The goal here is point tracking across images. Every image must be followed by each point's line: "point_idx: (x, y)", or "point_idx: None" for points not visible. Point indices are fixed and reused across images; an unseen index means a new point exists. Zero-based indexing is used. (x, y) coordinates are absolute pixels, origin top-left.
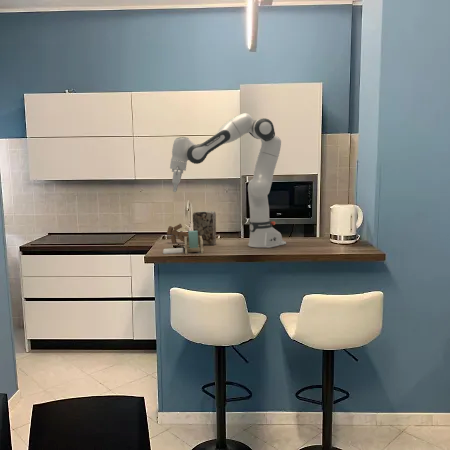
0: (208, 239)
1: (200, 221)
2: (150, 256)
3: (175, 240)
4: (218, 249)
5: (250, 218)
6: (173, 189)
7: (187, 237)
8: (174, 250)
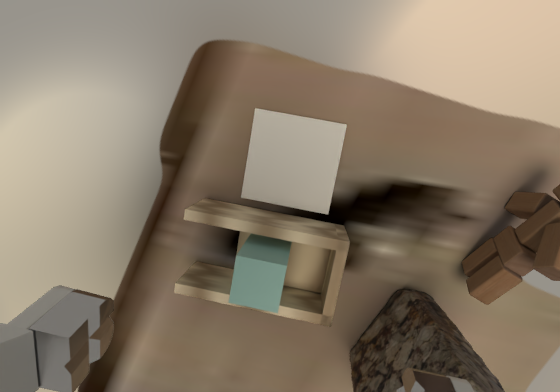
0: (365, 351)
1: None
2: (228, 46)
3: (517, 213)
4: (250, 343)
5: None
6: (26, 311)
7: (334, 253)
8: (281, 166)
